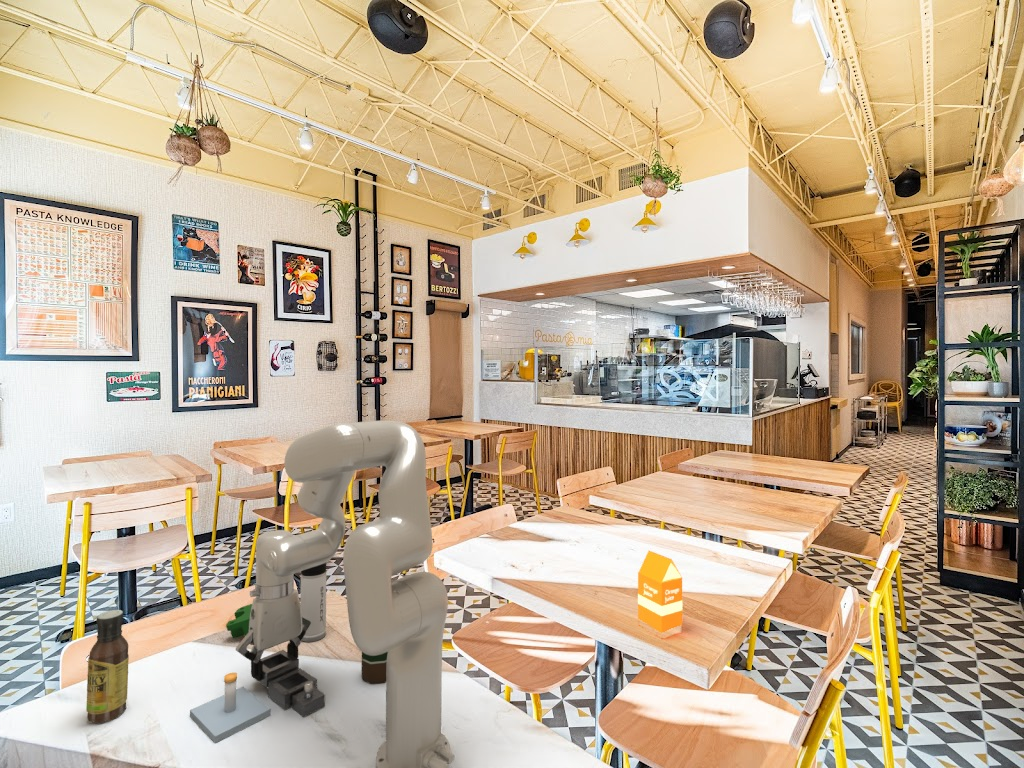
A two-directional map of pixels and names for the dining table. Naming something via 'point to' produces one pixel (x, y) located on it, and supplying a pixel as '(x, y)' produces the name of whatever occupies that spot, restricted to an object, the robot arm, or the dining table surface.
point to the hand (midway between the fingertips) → (275, 670)
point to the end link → (277, 666)
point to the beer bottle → (374, 668)
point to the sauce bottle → (107, 670)
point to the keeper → (229, 711)
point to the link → (288, 687)
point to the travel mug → (314, 601)
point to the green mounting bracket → (240, 622)
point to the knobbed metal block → (308, 700)
